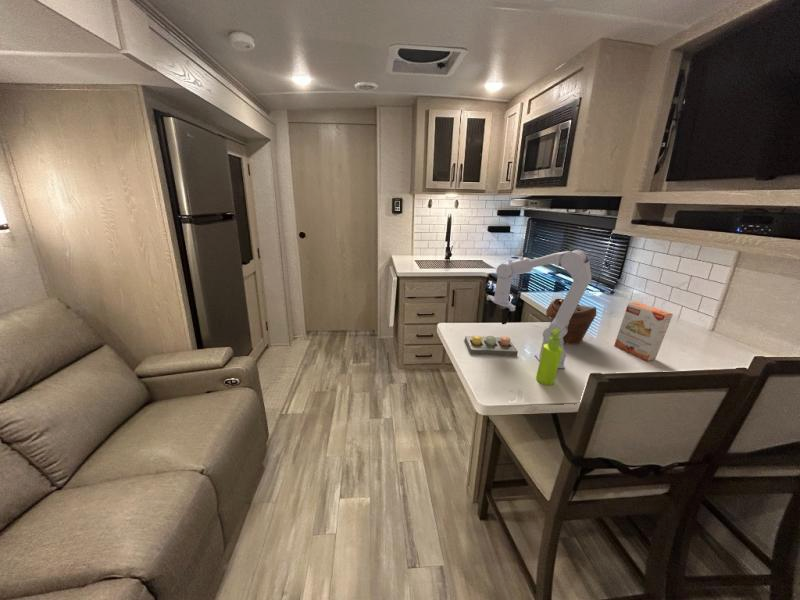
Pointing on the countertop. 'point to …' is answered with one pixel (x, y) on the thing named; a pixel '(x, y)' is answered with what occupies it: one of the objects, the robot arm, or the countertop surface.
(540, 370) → the soap dispenser
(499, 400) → the countertop surface
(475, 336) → the button
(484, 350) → the panel
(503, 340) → the button
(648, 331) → the cracker box
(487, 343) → the button mid
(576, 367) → the countertop surface
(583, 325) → the brown basket
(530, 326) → the countertop surface
